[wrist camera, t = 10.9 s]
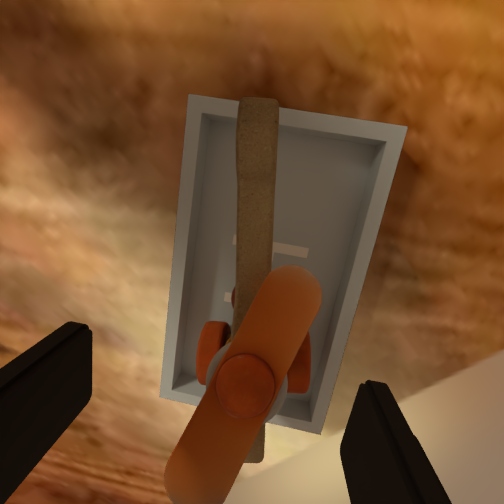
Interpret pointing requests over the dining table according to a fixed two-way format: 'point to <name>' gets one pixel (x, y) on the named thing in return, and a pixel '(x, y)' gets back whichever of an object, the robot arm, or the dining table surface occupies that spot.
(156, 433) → the dining table surface
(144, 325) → the dining table surface
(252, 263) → the toy helicopter
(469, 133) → the dining table surface
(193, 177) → the tray
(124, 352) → the dining table surface
